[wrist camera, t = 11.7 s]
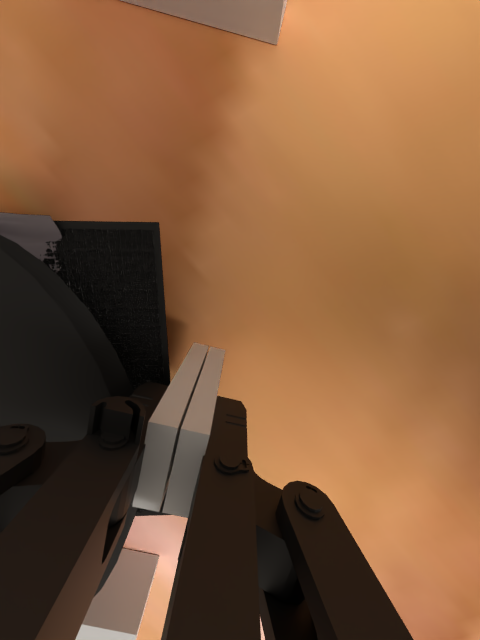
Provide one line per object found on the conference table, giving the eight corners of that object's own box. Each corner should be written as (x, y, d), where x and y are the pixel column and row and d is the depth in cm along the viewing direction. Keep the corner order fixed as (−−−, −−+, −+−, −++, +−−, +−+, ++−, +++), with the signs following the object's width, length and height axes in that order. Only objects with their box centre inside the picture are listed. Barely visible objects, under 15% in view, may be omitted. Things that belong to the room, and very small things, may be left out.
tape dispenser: (-17, 492, 18) (-172, 653, 11) (-113, 210, 13) (-510, 178, 6) (196, 487, 19) (176, 637, 12) (184, 215, 14) (136, 190, 7)
